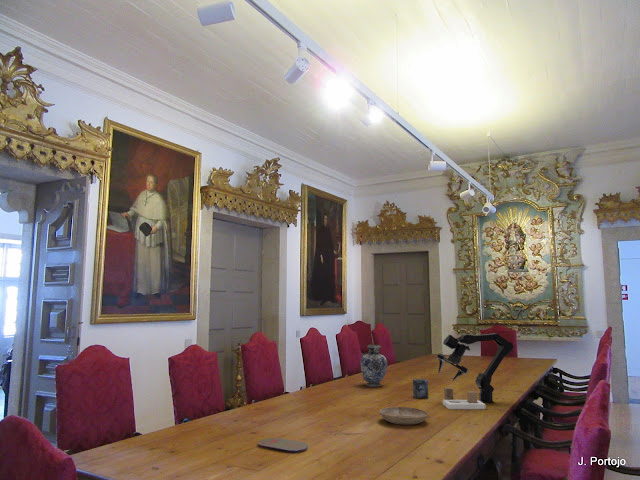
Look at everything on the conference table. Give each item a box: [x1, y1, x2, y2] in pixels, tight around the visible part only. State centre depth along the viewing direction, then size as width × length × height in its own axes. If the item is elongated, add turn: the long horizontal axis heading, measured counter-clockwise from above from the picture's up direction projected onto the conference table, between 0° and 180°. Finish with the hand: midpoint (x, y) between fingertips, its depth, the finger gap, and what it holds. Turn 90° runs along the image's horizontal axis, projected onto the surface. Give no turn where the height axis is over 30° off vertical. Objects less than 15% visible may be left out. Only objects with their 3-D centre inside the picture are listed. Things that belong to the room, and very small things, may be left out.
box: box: [412, 378, 429, 399], centre depth 286 cm, size 8×6×11 cm
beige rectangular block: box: [443, 387, 454, 400], centre depth 271 cm, size 4×4×8 cm
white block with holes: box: [442, 390, 487, 410], centre depth 261 cm, size 20×12×8 cm, turn 91°
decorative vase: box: [359, 343, 388, 388], centre depth 328 cm, size 21×19×28 cm
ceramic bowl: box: [379, 406, 429, 426], centre depth 227 cm, size 23×24×5 cm
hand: (445, 376), depth 274 cm, fingers open, 9 cm apart
